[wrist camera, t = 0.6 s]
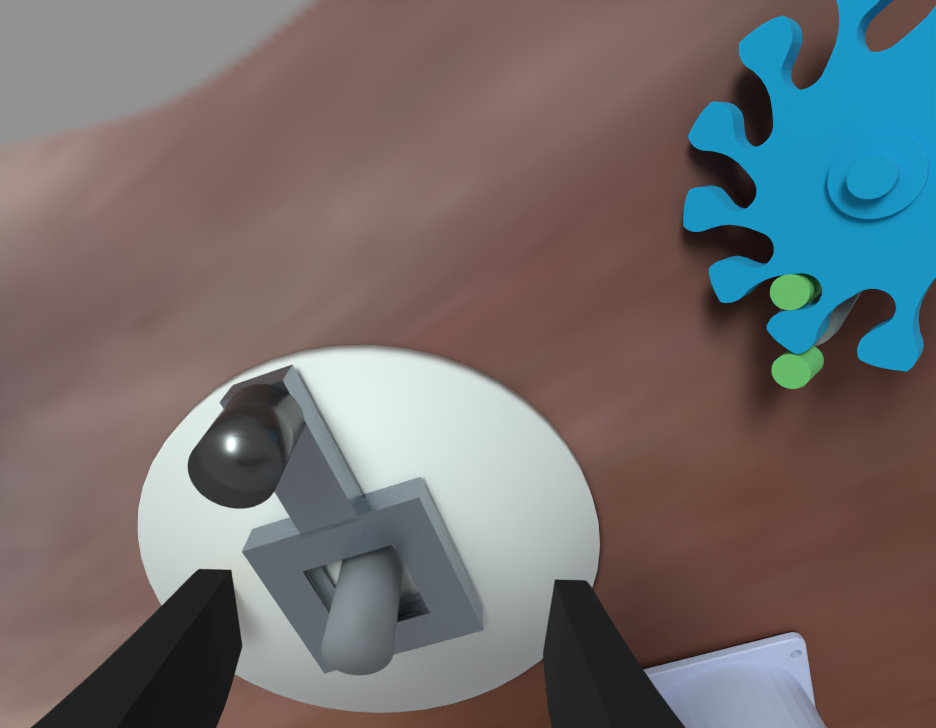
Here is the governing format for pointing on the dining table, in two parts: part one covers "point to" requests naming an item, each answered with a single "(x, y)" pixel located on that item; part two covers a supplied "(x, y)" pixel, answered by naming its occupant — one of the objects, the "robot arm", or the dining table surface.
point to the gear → (833, 188)
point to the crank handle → (326, 515)
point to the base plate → (382, 570)
